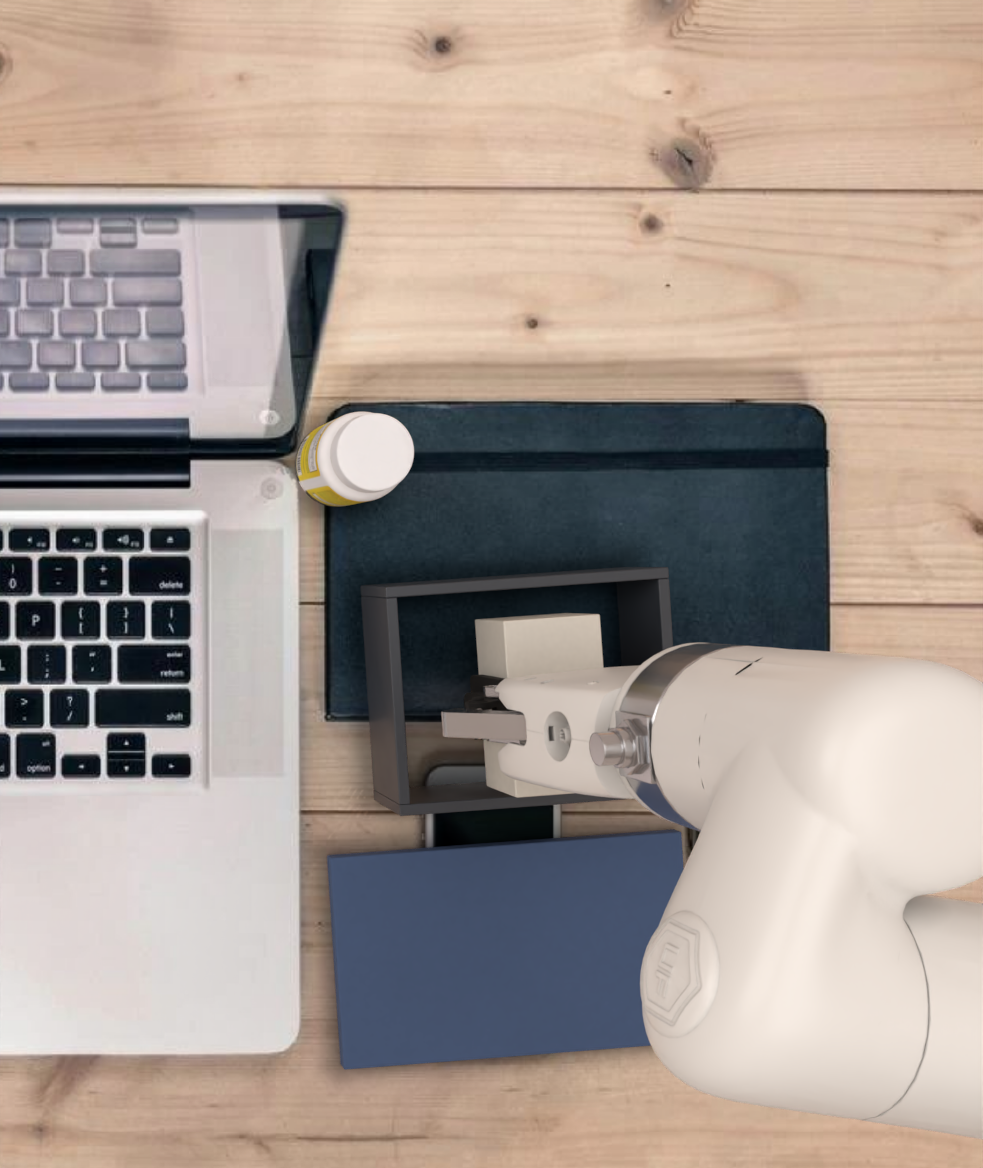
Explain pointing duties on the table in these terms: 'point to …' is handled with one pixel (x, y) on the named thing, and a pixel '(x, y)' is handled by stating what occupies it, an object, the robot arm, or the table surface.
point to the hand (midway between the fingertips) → (531, 700)
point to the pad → (496, 946)
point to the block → (533, 667)
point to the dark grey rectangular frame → (640, 639)
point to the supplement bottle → (354, 459)
